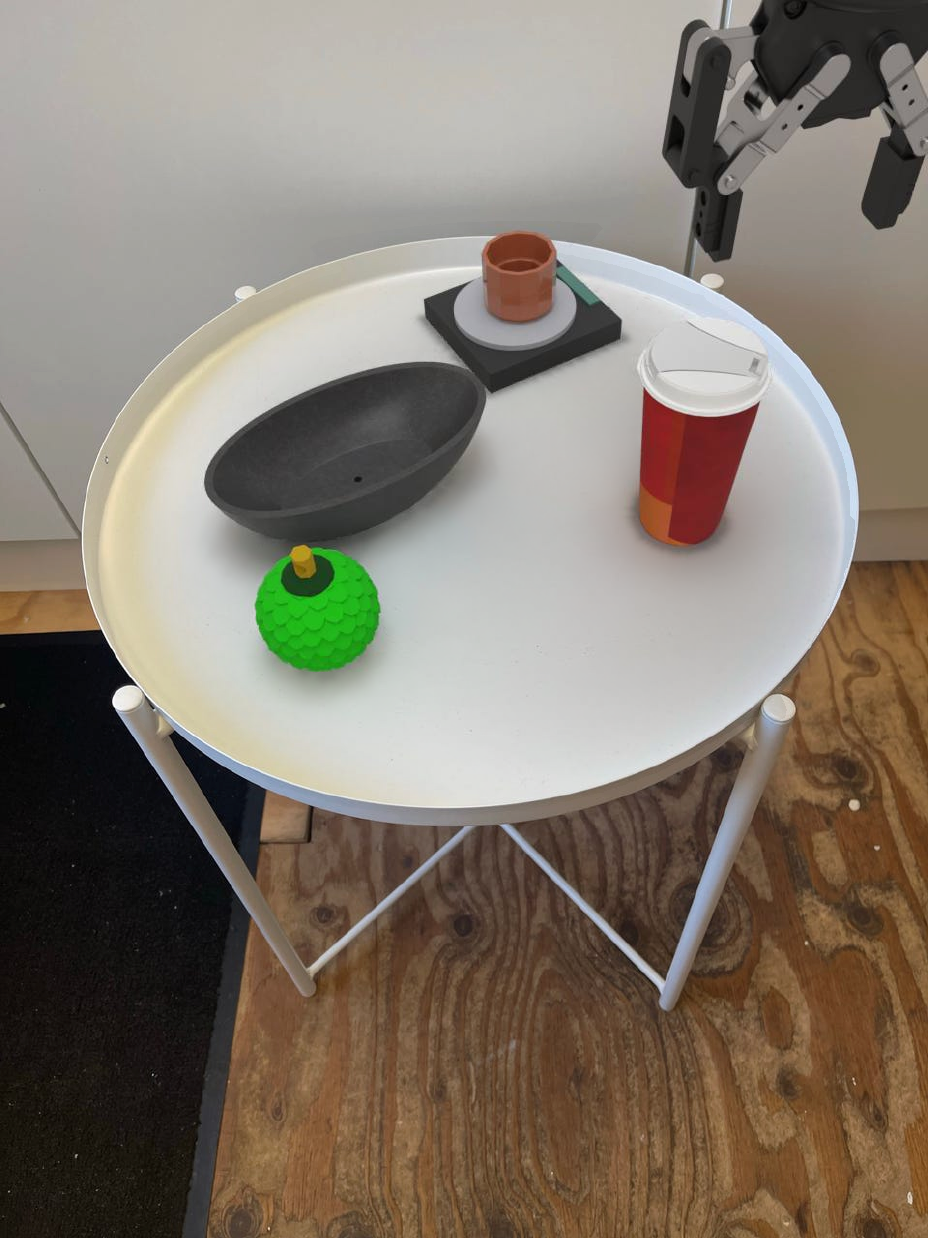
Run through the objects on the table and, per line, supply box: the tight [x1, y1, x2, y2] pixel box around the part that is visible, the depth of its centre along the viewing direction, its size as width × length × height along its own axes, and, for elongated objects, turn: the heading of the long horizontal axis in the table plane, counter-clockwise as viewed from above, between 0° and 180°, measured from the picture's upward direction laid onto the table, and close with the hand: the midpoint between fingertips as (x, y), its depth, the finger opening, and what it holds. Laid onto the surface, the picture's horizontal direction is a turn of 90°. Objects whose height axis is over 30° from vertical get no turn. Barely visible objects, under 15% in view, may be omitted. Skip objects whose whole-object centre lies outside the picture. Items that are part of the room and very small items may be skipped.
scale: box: [423, 258, 623, 394], centre depth 85 cm, size 13×12×3 cm
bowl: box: [203, 360, 487, 543], centre depth 73 cm, size 12×22×6 cm, turn 120°
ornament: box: [254, 544, 382, 673], centre depth 63 cm, size 8×8×10 cm
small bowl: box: [481, 230, 558, 322], centre depth 82 cm, size 6×6×5 cm
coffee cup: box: [636, 317, 773, 547], centre depth 66 cm, size 8×8×15 cm
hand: (796, 236), depth 48 cm, fingers open, 8 cm apart
